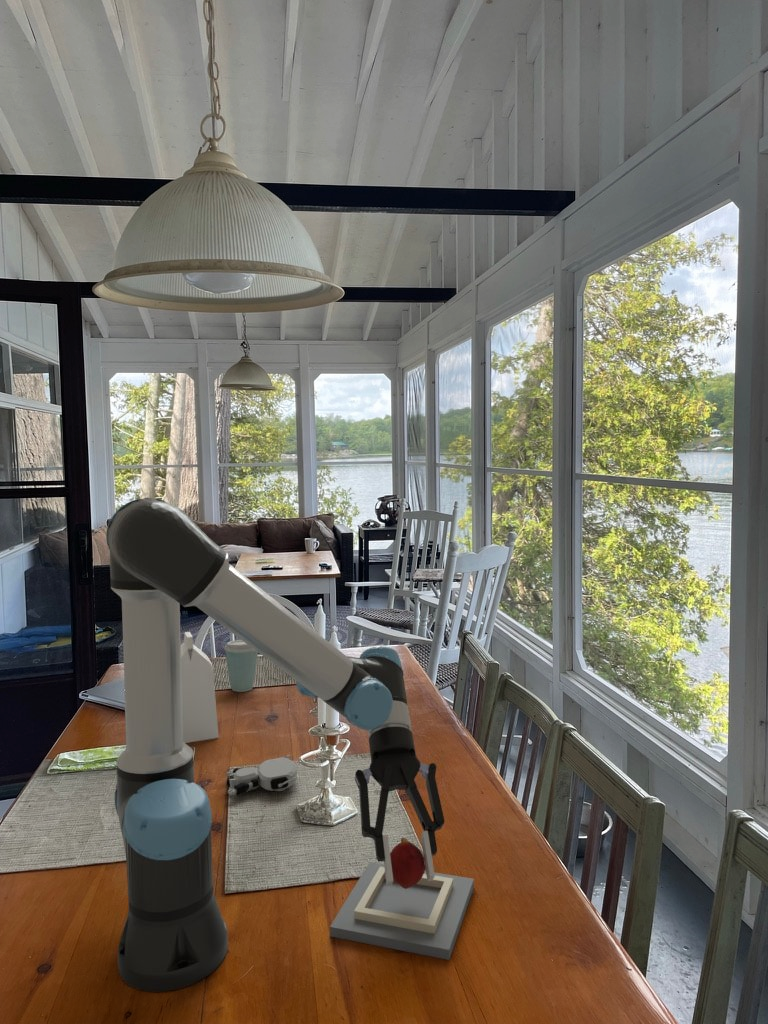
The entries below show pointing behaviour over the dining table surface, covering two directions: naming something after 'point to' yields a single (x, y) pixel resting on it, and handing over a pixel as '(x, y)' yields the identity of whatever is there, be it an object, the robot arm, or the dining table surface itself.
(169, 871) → the robot arm
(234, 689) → the disposable coffee cup
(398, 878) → the onion
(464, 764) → the dining table surface
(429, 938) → the plate
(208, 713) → the milk
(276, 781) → the robot toy
